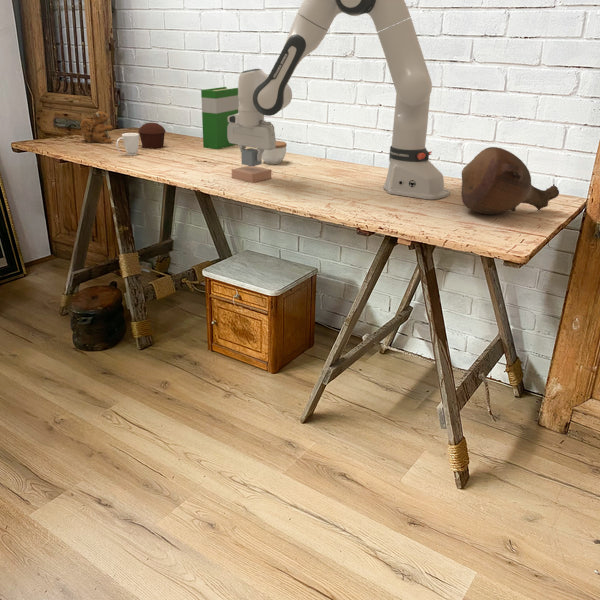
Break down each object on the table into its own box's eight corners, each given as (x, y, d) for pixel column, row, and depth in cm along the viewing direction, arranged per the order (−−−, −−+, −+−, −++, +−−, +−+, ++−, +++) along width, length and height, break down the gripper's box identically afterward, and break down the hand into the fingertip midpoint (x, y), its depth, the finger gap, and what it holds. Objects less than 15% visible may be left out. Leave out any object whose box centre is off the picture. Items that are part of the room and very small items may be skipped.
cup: (144, 154, 254) (142, 134, 251) (122, 157, 248) (120, 137, 245) (135, 152, 259) (133, 132, 256) (113, 154, 253) (111, 134, 249)
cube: (261, 164, 220) (261, 150, 218) (251, 166, 217) (251, 152, 215) (251, 162, 223) (251, 148, 221) (241, 164, 220) (241, 149, 218)
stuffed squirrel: (114, 143, 275) (111, 112, 270) (80, 144, 272) (76, 113, 267) (114, 139, 284) (111, 109, 278) (82, 140, 281) (78, 109, 275)
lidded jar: (261, 165, 241) (261, 141, 237) (257, 160, 250) (257, 136, 246) (288, 165, 243) (289, 140, 239) (283, 159, 252) (283, 136, 249)
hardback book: (226, 141, 286) (224, 86, 276) (239, 143, 283) (238, 87, 273) (203, 147, 272) (201, 89, 262) (217, 149, 268) (215, 91, 259)
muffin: (134, 148, 266) (132, 124, 262) (146, 143, 276) (144, 120, 272) (160, 150, 264) (158, 126, 260) (170, 145, 274) (169, 122, 270)
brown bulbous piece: (456, 220, 180) (551, 237, 184) (481, 157, 169) (582, 177, 173) (442, 189, 197) (530, 205, 201) (464, 130, 186) (556, 149, 190)
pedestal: (271, 177, 223) (271, 169, 221) (252, 182, 216) (252, 174, 214) (251, 173, 228) (251, 165, 227) (231, 177, 221) (231, 169, 220)
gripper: (280, 121, 210) (279, 162, 216) (236, 114, 221) (237, 154, 227) (267, 123, 205) (267, 165, 211) (224, 116, 217) (225, 156, 223)
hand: (251, 159), depth 219 cm, fingers closed on cube, 5 cm apart
